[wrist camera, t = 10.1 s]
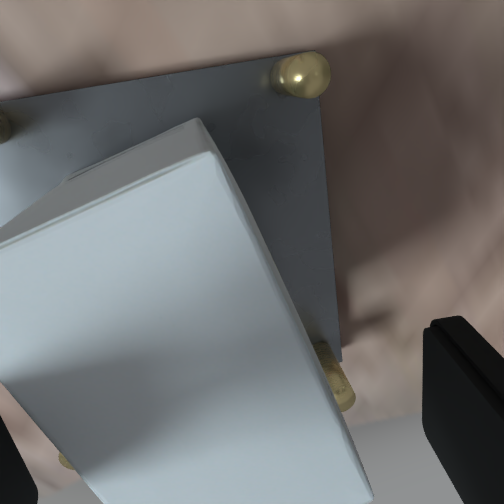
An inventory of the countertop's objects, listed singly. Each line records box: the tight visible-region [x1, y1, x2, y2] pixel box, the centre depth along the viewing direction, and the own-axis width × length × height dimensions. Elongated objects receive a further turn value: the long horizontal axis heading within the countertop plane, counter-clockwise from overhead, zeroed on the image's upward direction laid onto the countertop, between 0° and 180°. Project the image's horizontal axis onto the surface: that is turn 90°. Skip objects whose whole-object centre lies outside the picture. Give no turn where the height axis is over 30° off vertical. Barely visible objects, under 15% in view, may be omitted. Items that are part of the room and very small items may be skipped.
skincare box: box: [0, 117, 374, 504], centre depth 14 cm, size 10×6×10 cm, turn 23°
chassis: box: [0, 50, 356, 470], centre depth 18 cm, size 14×15×4 cm
